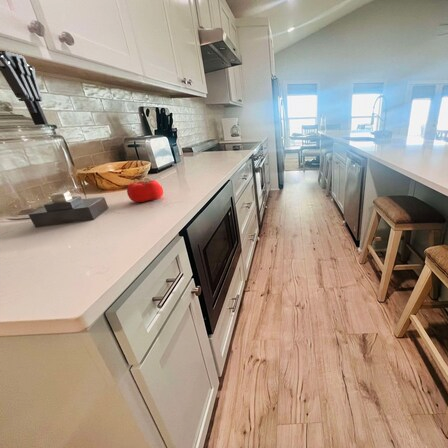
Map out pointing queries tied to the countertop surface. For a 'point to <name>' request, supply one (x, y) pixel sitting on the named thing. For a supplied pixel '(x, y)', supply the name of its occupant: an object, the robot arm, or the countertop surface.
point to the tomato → (144, 191)
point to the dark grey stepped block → (69, 211)
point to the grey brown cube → (61, 197)
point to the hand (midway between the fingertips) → (41, 124)
